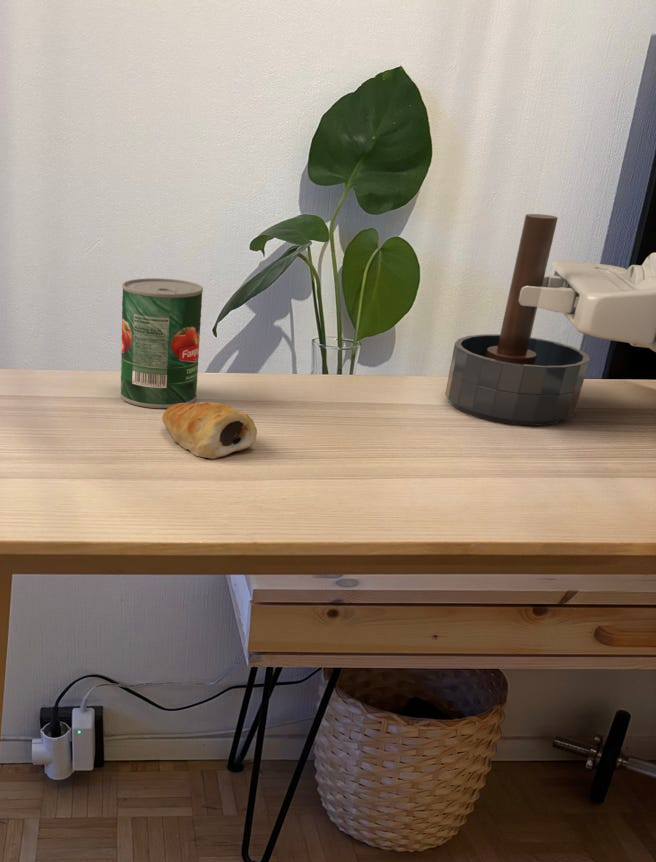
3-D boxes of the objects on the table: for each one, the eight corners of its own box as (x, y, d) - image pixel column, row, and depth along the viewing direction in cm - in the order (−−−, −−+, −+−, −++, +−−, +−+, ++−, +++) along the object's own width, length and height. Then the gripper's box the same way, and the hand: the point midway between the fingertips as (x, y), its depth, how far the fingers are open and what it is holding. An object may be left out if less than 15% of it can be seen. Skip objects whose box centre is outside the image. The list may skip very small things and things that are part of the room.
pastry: (143, 431, 89) (145, 391, 87) (200, 421, 92) (203, 382, 90) (205, 463, 82) (208, 419, 80) (264, 450, 86) (268, 408, 84)
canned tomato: (115, 386, 101) (117, 277, 95) (188, 386, 102) (194, 278, 97) (125, 409, 94) (127, 293, 89) (203, 408, 96) (210, 294, 90)
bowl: (601, 417, 99) (617, 359, 96) (512, 434, 93) (526, 372, 90) (504, 384, 109) (516, 330, 106) (418, 396, 103) (428, 340, 100)
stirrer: (540, 383, 100) (579, 218, 92) (506, 389, 98) (544, 220, 90) (504, 371, 104) (539, 211, 96) (471, 376, 102) (504, 213, 93)
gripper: (642, 251, 102) (509, 242, 104) (700, 286, 85) (539, 275, 86) (625, 312, 105) (497, 302, 107) (678, 358, 88) (523, 346, 89)
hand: (516, 290), depth 96 cm, fingers closed on stirrer, 3 cm apart
